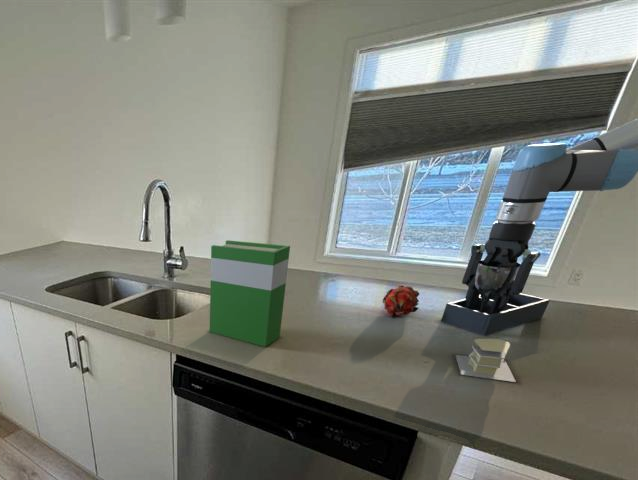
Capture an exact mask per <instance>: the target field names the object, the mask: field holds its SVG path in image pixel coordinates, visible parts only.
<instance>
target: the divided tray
mask: <svg viewBox="0 0 638 480" xmlns="http://www.w3.org/2000/svg"><path fill="white" fill-rule="evenodd" d="M499 294H500V293H499ZM497 295H498V294H497ZM495 296H496V295H495ZM495 296H494V297H492V298H491V299H490V300H489V301H488V303H487V305H486V306H485V308H484V311H483V312H479V311H480V307H481V303H482V298H481V295H479V298H478V301H477V303H476V306H475V309H474V310H472V309H469V308H465V307H466V304H467V301H468V300H466V299H465V298H462V299H459V300H455V301H451V302H447V303H446V304H445V307H444V310H443V313H442V316H441V319H440V322H442V323H445V324H448V325H451V326H454V327H457V328H459V329H463V330H466V331H470V332H473V333H476V334H479V335H481V336H488V335H490V334H495V333H497V332H501V331H504V330H507V329H511V328H514V327H517V326H521V325H524V324H528V323H532V322H534V321H538V320H541V319H542V318H543V317H544V314H545V312H546V310H547V308H548V306H549V303H550V301H551V299H548V298H543V297H539V296H535V295H530V294H525V293H523V292H522V293H520V294H516V295H511V296H510V297H509V300H508V302H507V305H506V306H505V307H504V308H501V309H500V312H499V313H495V314H492V315H490V314H489V311H490V308H491V306H492V303H493V301H494V298H495Z"/></svg>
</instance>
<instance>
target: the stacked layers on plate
mask: <svg viewBox="0 0 638 480" xmlns="http://www.w3.org/2000/svg"><path fill="white" fill-rule="evenodd" d="M474 342H475V344H472V345H471V348H472V351H471V352H470V353H469V354H468V356H467V355H460V354H455V359H456V363H457V366H458V369H459V373H460V375H461V376H468V377H469V376H470V377H475V378H481V379H483V378H484V379H490V380H497V381H506V382H511V383H516V379H515V377H514V375H513V373H512V371H511V369H510V366H509V365H508V363H507V361H506V360H505V357H506V356H507V354H508V351H509V349H510V346H511V343H510V342H509V341H506V340H503V339H499V338H475V339H474Z"/></svg>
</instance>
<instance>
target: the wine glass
mask: <svg viewBox="0 0 638 480" xmlns="http://www.w3.org/2000/svg"><path fill="white" fill-rule="evenodd" d="M483 261H484V259H481V261H479V263H478V265H477V268H476V272H475V277H474V285H475V287H476V289H477V290H478V292H479V293H480V295H481V298H482V303H481V307H480V311H479V312H483V311H484V308H485V306H486V305H487V303H488V301H489V300H490V299H491V298H492V297H494V296H495V295H497V294H499V293H500V291H501V289H502V288H503V287H504V285H505V284H506V282H509V283H510V282H512V281H513V280H515V277H516V275H517V272H518V270H519V267H520V265H521V263H520V262H517V265H516V266H515V267H513V268H502V267H501V265H502V263H500V262H498V261H497V262H496V263H495V264H494V265H493V267H490V266H485V265H482V264H483Z"/></svg>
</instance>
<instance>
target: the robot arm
mask: <svg viewBox="0 0 638 480" xmlns="http://www.w3.org/2000/svg"><path fill="white" fill-rule="evenodd" d="M637 174H638V118H635V119H633V120H631V121H629V122H626V123H624V124H622V125H620V126H617V127H615V128H613V129H610V130H608V131H606V132H604V133H601V134H599V135H596V136H594V137H593V138H591V139H588V140H586V141H582V142H581V143H579V144H575V145H573V146H572V147H571V146H570V147H568V144H567V143H565V142H555V143H553V142H552V143H537V144H529V145H525V146H523V148H522V149H521V150H519V153H518V155H517V157H516V159H515V161H514V163H513V166H512V167H511V172H510V175H509V178H508V181H507V184H506V187H505V191H504V194H503V197H502V199H501V201H500V205H499V207H498V210H497V213H496V216H495V219H496V221H494V222H493V223H492V227H491V229H490V232H489V235H488V236H489V237H488V239H487V241H485V243H478V244H474V245H471V247H470V251H471V254H470V258H469V261H468V263H467V266H466V269H465V271H464V274H463V277H462V279H461V284H463V285H465V286H467V287H468V288H467V292H466V294H465V298H464V299H466V300H468V301H467V304H466V307H465V308H469V309H472V310H474V309H475V306H476V303H477V301H478V298H479V295H480V293H479V292H478V290H477V289H476V287H475V285H474V277H475V272H476V268H477V265H478V263H479V261H482V260H484V261H483V264H482V265H485V266H490V267H493V265H494V264H495V263H496V262H497V261H498V262H500V263H502V265H501V267H502V268H513V267H515V266H516V265H517V263H518V259H519V258H520V257H521V256H522V257H521V260H522V261H521V263H520V264H521V265H520V267H519V270H518V272H517V275H516V277H515V279H514V280H513V281H512V282H510V283H509V282H506V284H505V285H504V287H503V288H502V289H501V291H500V294H498V295H496V296H495V298H494V301H493V303H492V306H491V308H490V311H489V314H490V315H492V314H495V313H499V312H500V309H501V308H504V307H505V306H506V305H507V302H508V300H509V297H510V296H511V295H516V294H520V293H522V294H523V291H524V288H525V287H526V284H527V281H528V279H529V276H530V273H531V271H532V269H533V266H534V263H536V261H537V260H538V259H539V258H540V257H541V252H539V251H536V252H534V251H532V250H530V249H529V243H530V240H531V238H532V236H533V234H534V231H535V229H536V226H537V223H536V221H538V220H539V219H540V217H541V214H542V211H543V208H544V206H545V203H546V201H547V200H548V196H549V194H550V193H559V192H593V191H595V192H596V191H597V192H598V191H599V192H603V191H611V190H612V191H613V190H620V189H622V188H624V187H626V186H628V185H629V184H630V183H631V181H633V180H634V178H635V177H636V175H637ZM484 252H486V256H485V258H484V259H482V258H483V256H484Z"/></svg>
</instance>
